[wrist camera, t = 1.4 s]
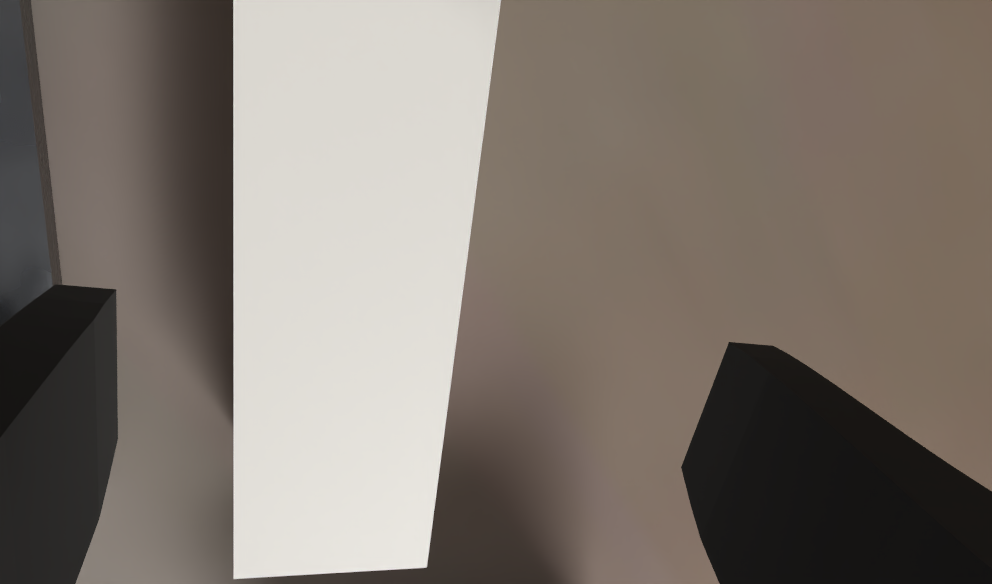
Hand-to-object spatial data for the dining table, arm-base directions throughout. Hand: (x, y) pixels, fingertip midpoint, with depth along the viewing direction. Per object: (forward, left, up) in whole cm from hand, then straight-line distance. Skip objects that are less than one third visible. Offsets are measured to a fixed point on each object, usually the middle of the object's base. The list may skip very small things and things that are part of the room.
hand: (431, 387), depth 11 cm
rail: (0, +1, -10) cm, 10 cm away
